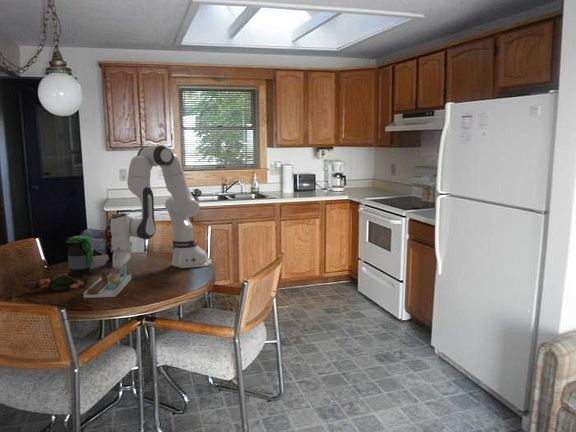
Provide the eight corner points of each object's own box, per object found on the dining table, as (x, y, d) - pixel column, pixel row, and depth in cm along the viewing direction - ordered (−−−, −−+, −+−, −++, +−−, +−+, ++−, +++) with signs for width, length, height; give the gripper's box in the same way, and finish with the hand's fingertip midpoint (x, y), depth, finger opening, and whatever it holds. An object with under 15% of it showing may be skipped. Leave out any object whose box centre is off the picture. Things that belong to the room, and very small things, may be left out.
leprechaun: (89, 284, 220) (29, 287, 207) (86, 297, 225) (28, 301, 212) (86, 268, 227) (28, 270, 214) (84, 281, 232) (27, 284, 219)
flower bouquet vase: (98, 267, 258) (94, 214, 253) (113, 260, 273) (110, 210, 268) (122, 268, 255) (119, 215, 250) (137, 261, 270) (134, 211, 265)
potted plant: (92, 275, 242) (89, 238, 239) (66, 276, 241) (62, 238, 238) (99, 270, 253) (96, 234, 249) (74, 270, 252) (71, 234, 249)
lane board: (131, 278, 236) (131, 274, 236) (115, 296, 209) (115, 292, 208) (103, 279, 235) (103, 275, 235) (83, 297, 208) (83, 292, 207)
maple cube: (120, 282, 222) (119, 273, 221) (117, 285, 217) (116, 276, 217) (110, 282, 221) (110, 273, 221) (107, 285, 217) (107, 276, 216)
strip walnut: (110, 280, 229) (110, 269, 228) (97, 293, 209) (96, 281, 208) (102, 280, 228) (101, 269, 227) (88, 294, 209) (87, 281, 208)
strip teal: (127, 276, 235) (126, 265, 235) (116, 288, 216) (115, 277, 215) (119, 276, 235) (118, 266, 234) (107, 289, 215) (106, 277, 215)
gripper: (121, 250, 221) (123, 278, 223) (132, 241, 241) (134, 266, 244) (108, 250, 221) (110, 278, 223) (120, 241, 241) (121, 267, 243)
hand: (122, 272), depth 233 cm, fingers closed on strip teal, 3 cm apart
